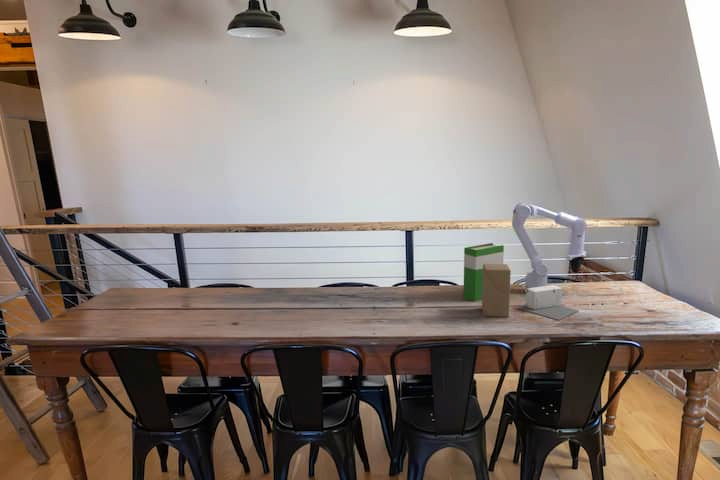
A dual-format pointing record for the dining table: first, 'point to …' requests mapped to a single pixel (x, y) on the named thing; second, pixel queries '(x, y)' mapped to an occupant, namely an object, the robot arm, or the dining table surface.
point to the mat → (552, 312)
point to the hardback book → (479, 267)
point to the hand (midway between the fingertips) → (575, 272)
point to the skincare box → (544, 297)
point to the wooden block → (496, 290)
